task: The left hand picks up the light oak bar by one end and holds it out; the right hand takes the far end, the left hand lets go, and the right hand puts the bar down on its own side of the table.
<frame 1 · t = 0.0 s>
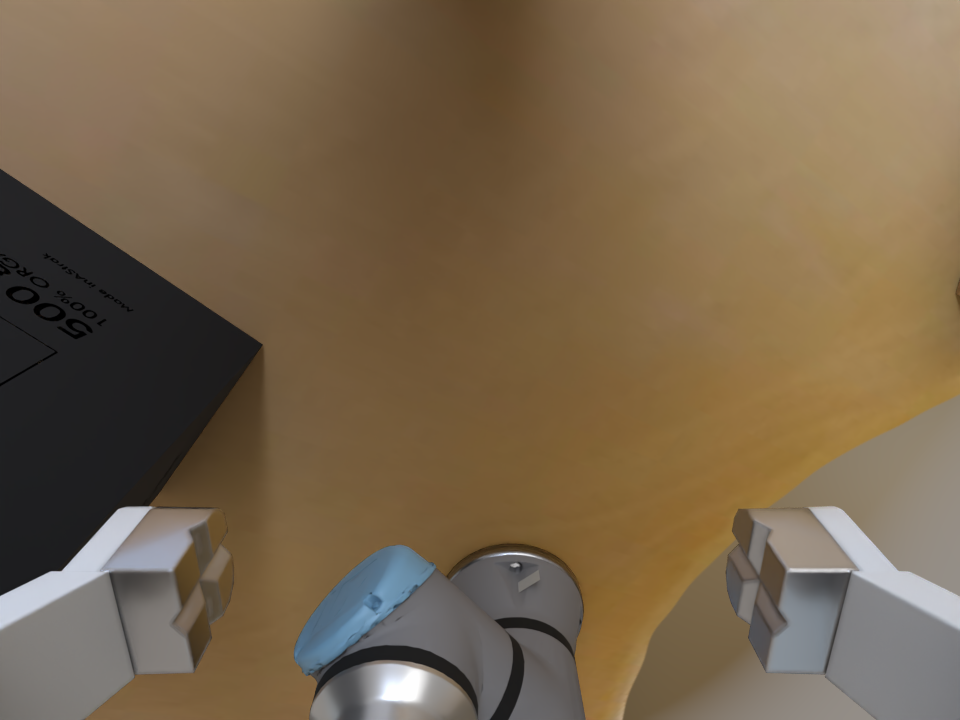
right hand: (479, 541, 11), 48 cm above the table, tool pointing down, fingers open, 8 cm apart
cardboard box: (24, 306, 59), on the table
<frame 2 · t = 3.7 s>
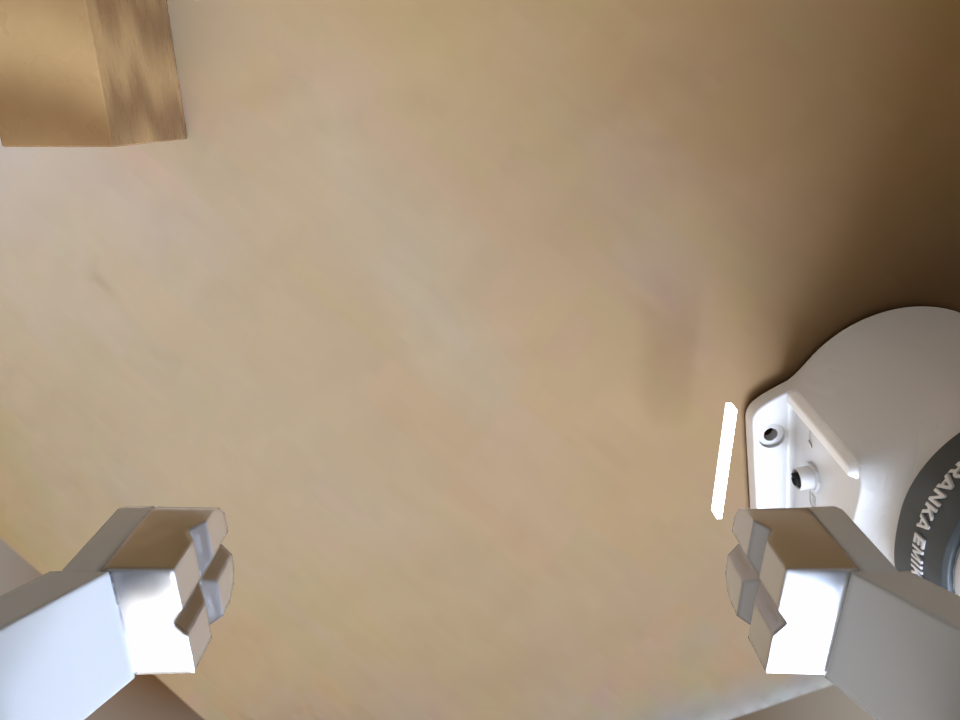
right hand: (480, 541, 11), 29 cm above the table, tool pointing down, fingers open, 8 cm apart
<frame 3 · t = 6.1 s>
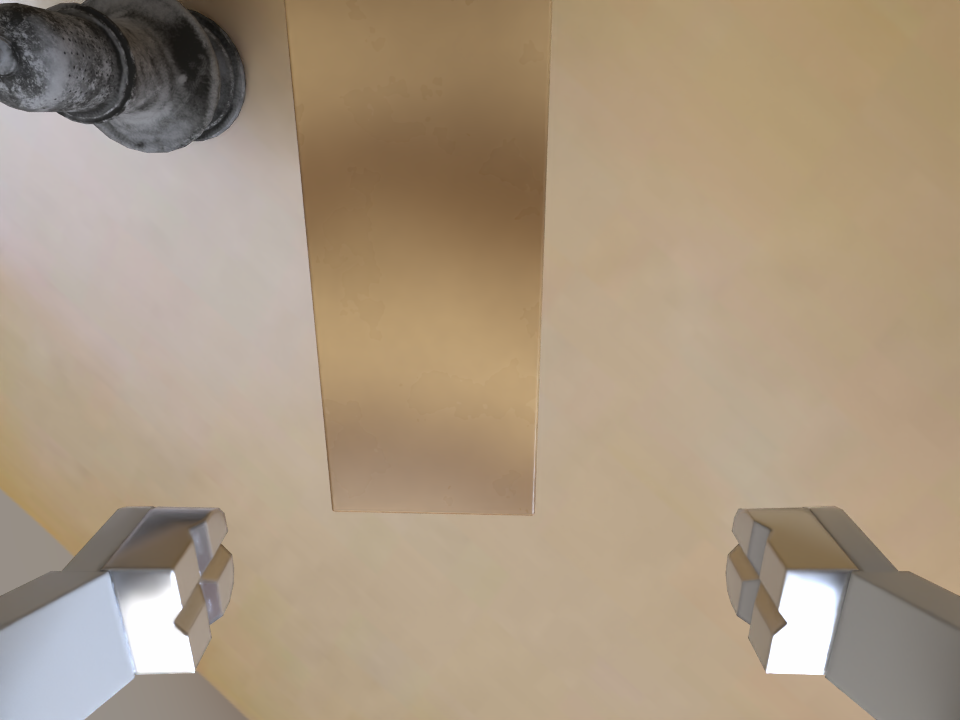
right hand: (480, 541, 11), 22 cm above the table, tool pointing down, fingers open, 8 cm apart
bar: (450, 12, 19), point 9 cm above the table, touching left hand
dark grey piece: (186, 76, 28), on the table
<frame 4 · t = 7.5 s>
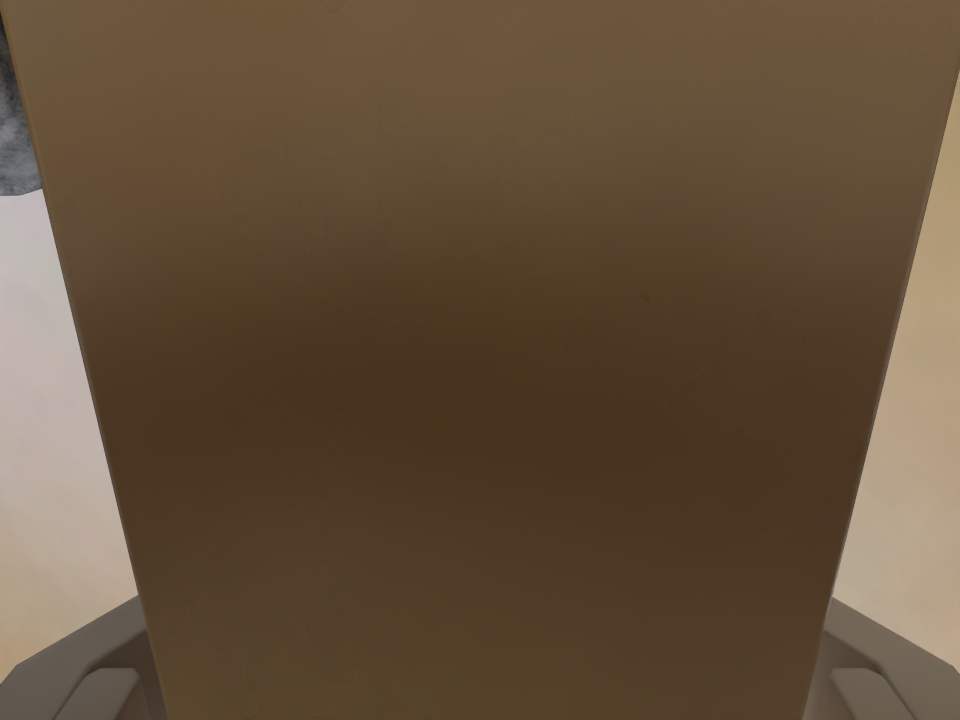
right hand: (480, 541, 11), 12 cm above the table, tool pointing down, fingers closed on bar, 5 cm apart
dark grey piece: (62, 76, 19), on the table
when the left hand's fingers open (10 cm above the table, at t = 8.5 s): bar stays where it is, held by the right hand.
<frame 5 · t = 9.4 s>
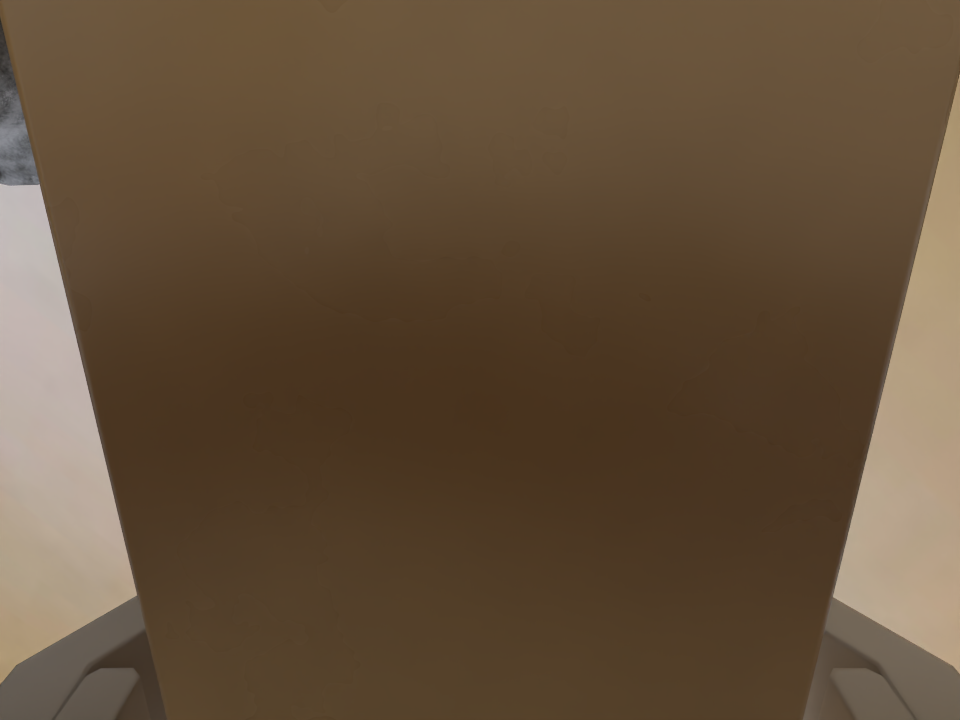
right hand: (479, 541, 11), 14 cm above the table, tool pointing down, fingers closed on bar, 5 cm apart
dark grey piece: (73, 74, 20), on the table
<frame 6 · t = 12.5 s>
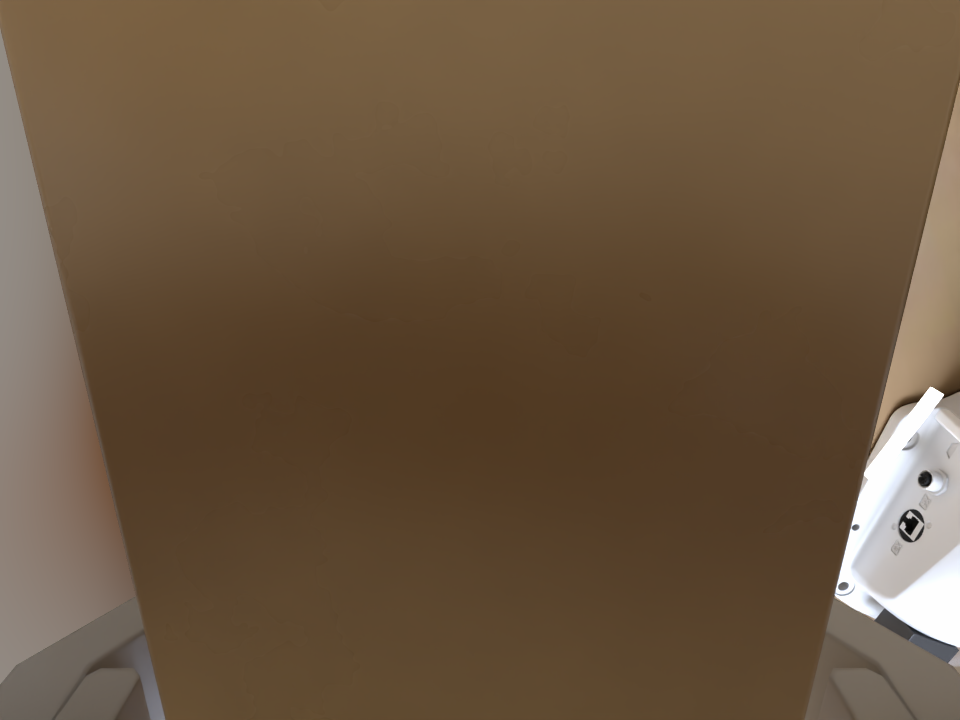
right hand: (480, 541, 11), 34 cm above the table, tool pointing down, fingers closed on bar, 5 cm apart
when the right hand's fingers open (4 cm above the table, at t = 17.7 s): bar drops 1 cm, on the table.
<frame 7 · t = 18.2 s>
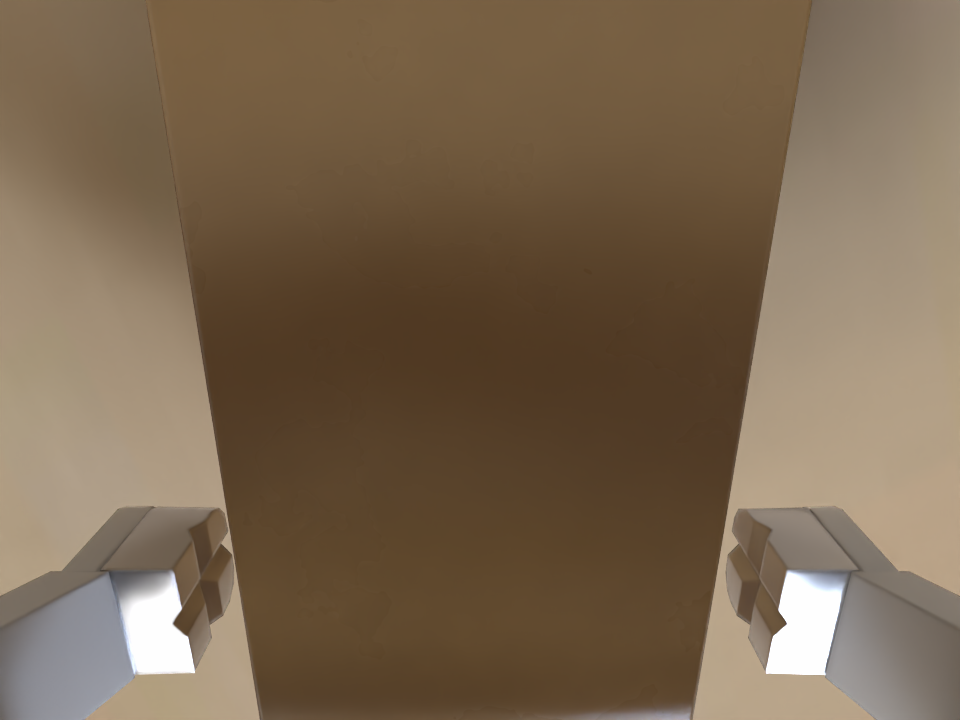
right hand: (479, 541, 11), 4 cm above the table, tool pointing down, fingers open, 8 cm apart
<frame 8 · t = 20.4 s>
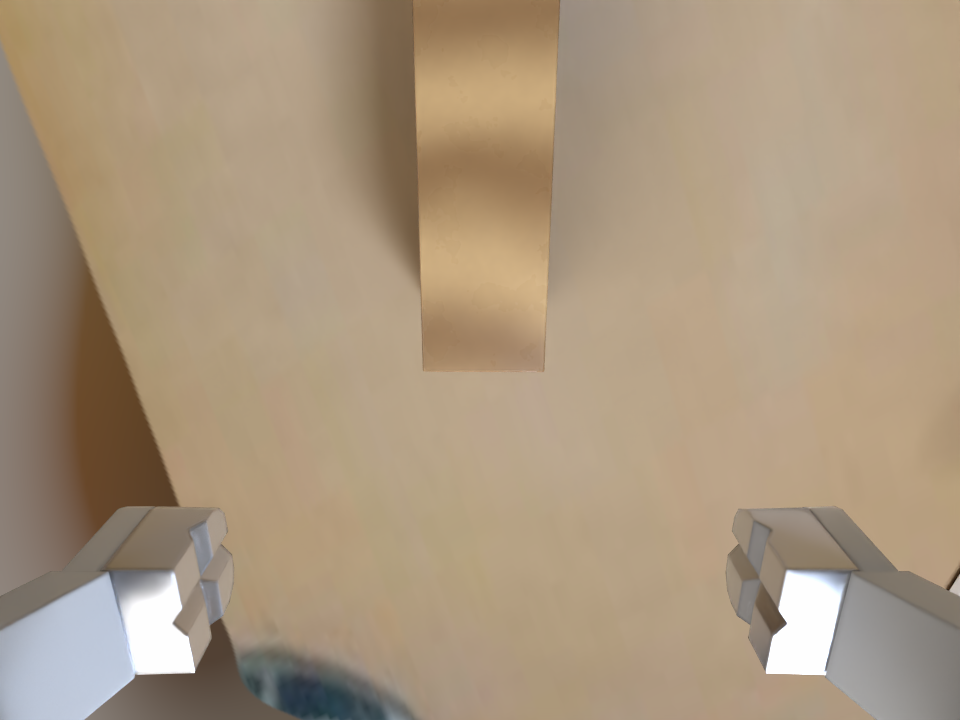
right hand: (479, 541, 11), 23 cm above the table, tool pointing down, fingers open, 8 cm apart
bar: (484, 65, 29), on the table
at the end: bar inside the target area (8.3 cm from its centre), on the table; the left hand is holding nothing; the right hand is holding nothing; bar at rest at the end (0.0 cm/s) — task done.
